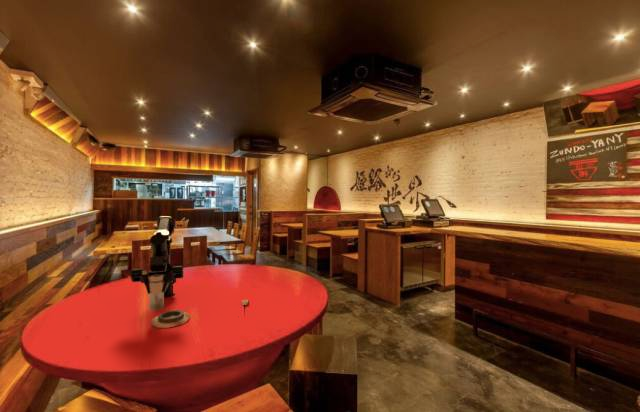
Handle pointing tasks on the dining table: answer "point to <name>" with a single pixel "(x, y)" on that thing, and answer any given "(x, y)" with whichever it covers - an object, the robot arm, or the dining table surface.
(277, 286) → the dining table surface
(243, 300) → the fork
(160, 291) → the grey lidded canister
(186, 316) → the collar board
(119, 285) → the dining table surface
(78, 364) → the dining table surface
